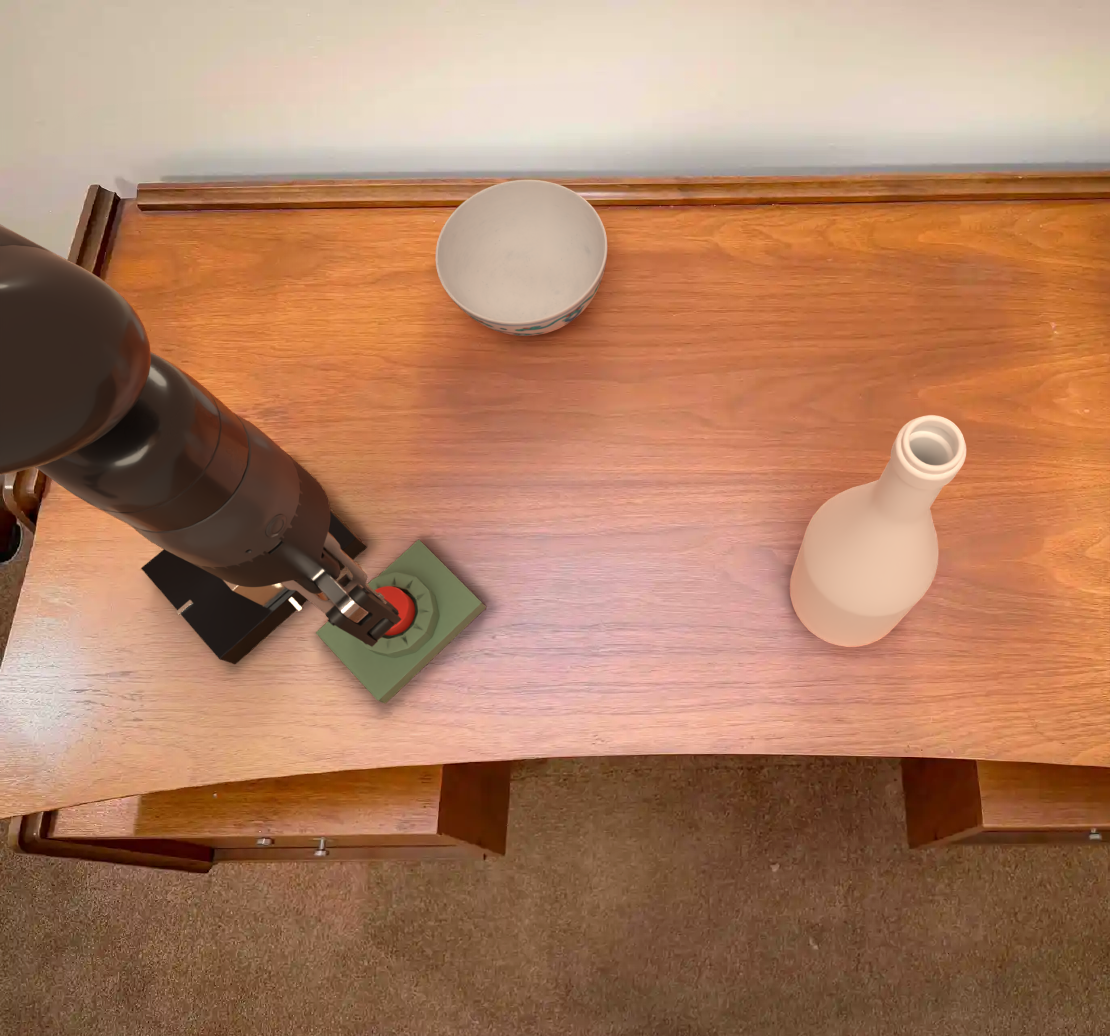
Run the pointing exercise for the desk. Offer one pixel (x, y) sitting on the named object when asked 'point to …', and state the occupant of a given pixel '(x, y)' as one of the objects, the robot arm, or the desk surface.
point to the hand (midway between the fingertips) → (347, 581)
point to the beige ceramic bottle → (877, 540)
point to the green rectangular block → (434, 626)
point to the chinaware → (522, 256)
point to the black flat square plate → (231, 599)
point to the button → (399, 608)
